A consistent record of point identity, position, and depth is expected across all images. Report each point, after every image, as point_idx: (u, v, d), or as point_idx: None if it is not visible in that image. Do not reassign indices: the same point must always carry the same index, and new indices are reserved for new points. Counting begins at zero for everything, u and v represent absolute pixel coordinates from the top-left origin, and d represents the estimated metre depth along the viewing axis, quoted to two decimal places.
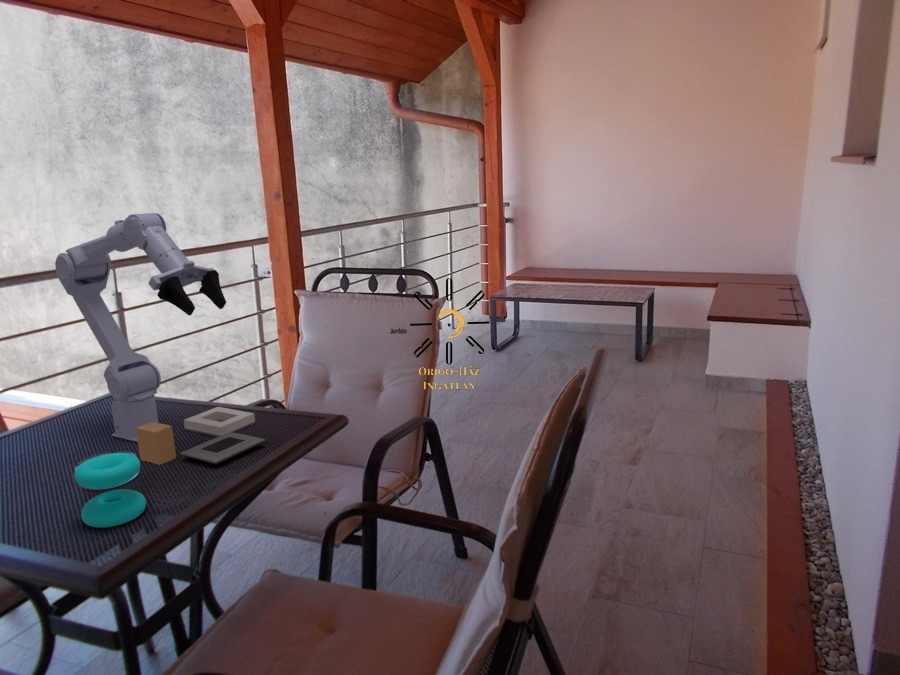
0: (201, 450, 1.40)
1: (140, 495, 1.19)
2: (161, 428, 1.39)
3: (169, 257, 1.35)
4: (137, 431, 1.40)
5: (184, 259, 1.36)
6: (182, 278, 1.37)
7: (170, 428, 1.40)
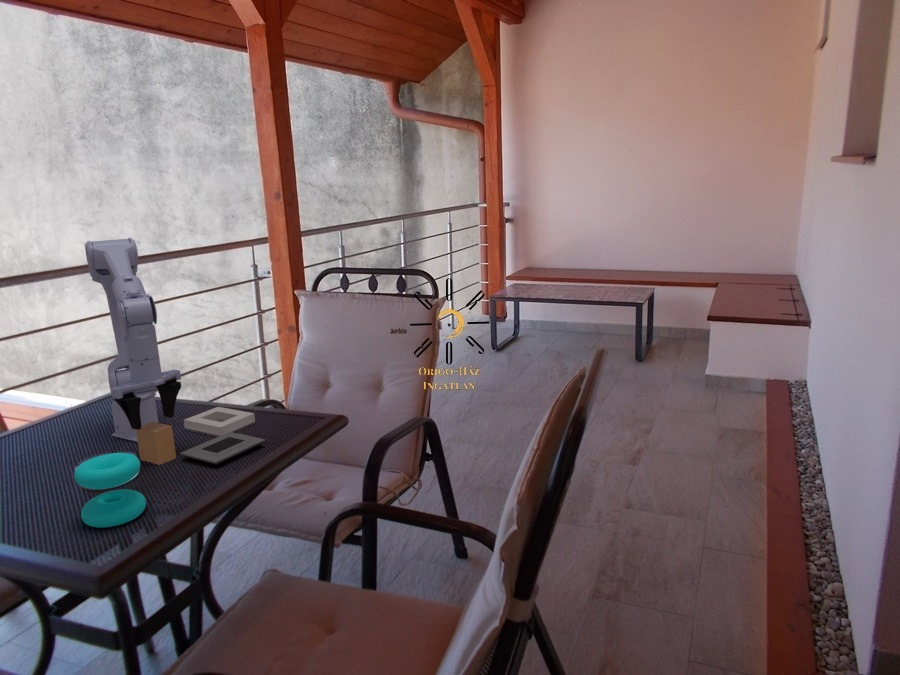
0: (201, 450, 1.40)
1: (140, 495, 1.19)
2: (161, 428, 1.39)
3: (143, 367, 1.35)
4: (137, 431, 1.40)
5: (156, 373, 1.36)
6: None
7: (170, 428, 1.40)
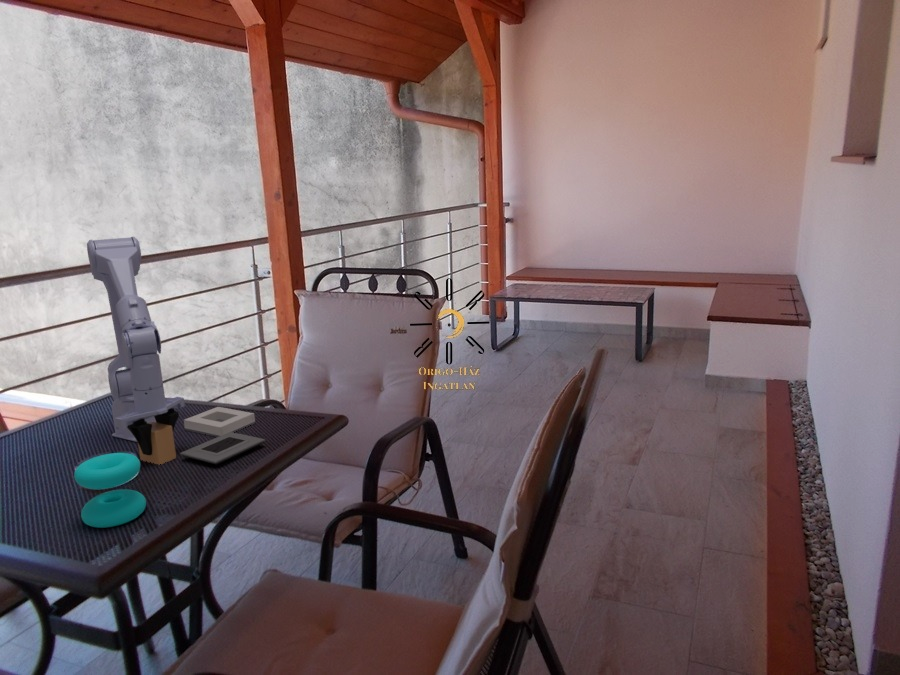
0: (201, 450, 1.40)
1: (140, 495, 1.19)
2: (161, 427, 1.39)
3: (148, 397, 1.36)
4: None
5: (160, 401, 1.38)
6: None
7: (170, 428, 1.40)
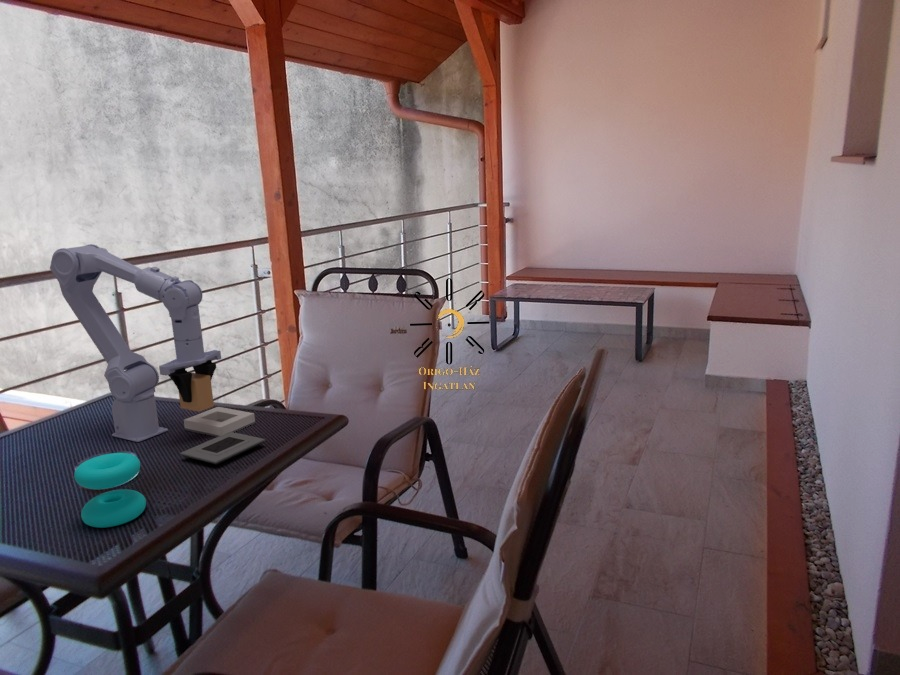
0: (201, 450, 1.40)
1: (140, 495, 1.19)
2: (200, 377, 1.49)
3: (188, 347, 1.46)
4: None
5: (200, 352, 1.48)
6: None
7: (208, 377, 1.50)
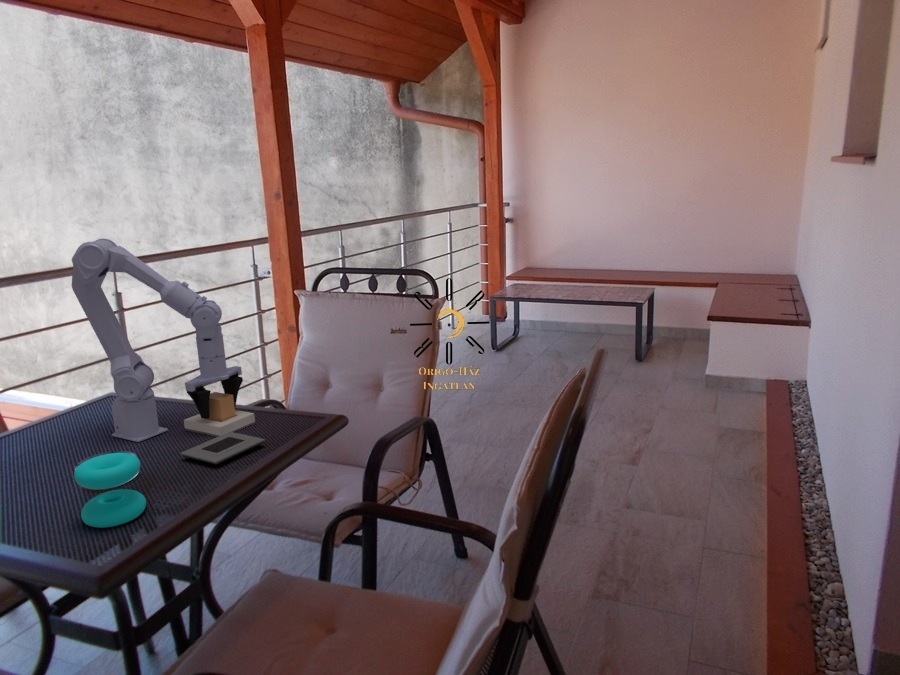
0: (201, 450, 1.40)
1: (140, 495, 1.19)
2: (224, 396, 1.57)
3: (212, 364, 1.53)
4: None
5: (223, 369, 1.55)
6: None
7: (231, 397, 1.57)
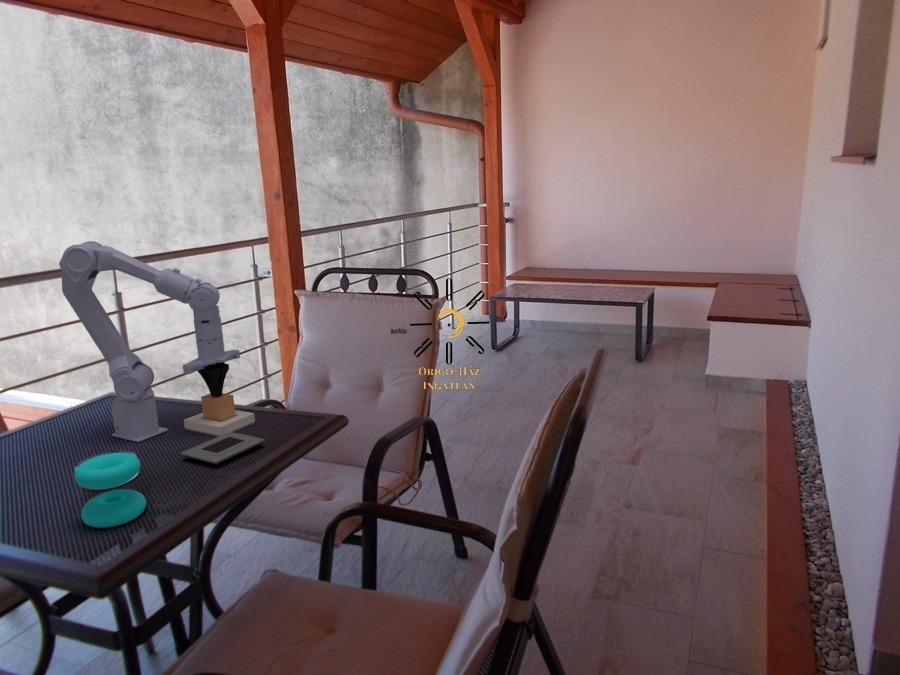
0: (201, 450, 1.40)
1: (140, 495, 1.19)
2: (224, 396, 1.57)
3: (210, 346, 1.52)
4: (202, 399, 1.57)
5: (221, 351, 1.54)
6: None
7: (231, 397, 1.57)
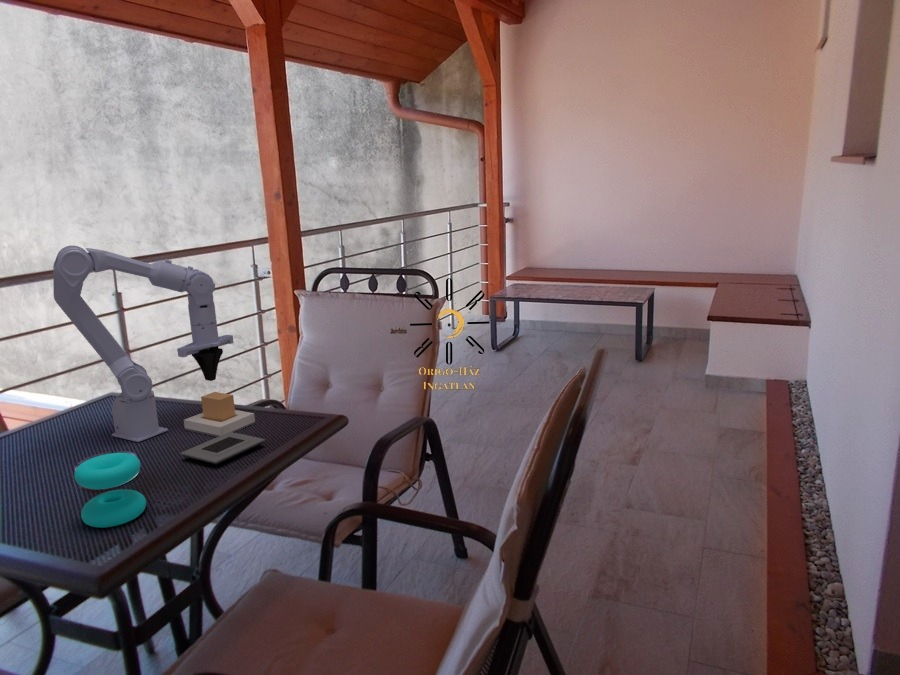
0: (201, 450, 1.40)
1: (140, 495, 1.19)
2: (224, 396, 1.57)
3: (204, 331, 1.57)
4: (202, 399, 1.57)
5: (215, 336, 1.58)
6: None
7: (231, 397, 1.57)
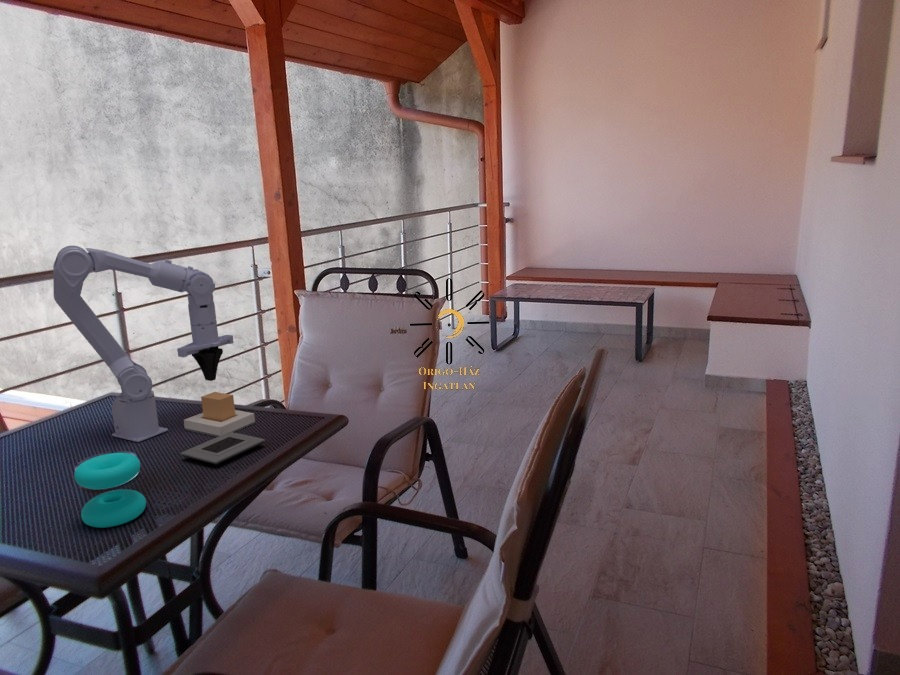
0: (201, 450, 1.40)
1: (140, 495, 1.19)
2: (224, 396, 1.57)
3: (204, 331, 1.57)
4: (202, 399, 1.57)
5: (215, 336, 1.58)
6: None
7: (231, 397, 1.57)
